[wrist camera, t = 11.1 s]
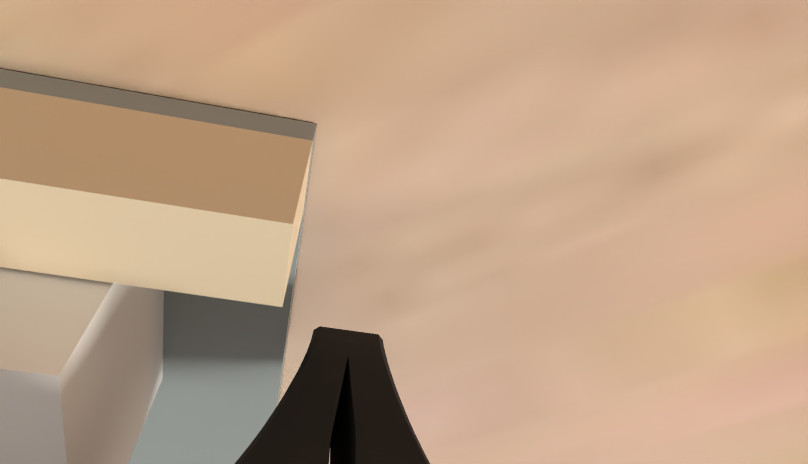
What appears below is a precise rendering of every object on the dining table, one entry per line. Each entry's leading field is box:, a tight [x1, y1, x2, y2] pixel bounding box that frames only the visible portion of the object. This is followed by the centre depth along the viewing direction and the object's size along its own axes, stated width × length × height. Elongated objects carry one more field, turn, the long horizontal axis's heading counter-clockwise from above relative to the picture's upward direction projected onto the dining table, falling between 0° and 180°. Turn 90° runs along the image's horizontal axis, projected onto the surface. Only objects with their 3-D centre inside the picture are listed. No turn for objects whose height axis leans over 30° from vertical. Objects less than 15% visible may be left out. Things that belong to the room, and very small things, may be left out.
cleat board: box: [0, 69, 317, 464], centre depth 15 cm, size 16×10×4 cm, turn 169°
